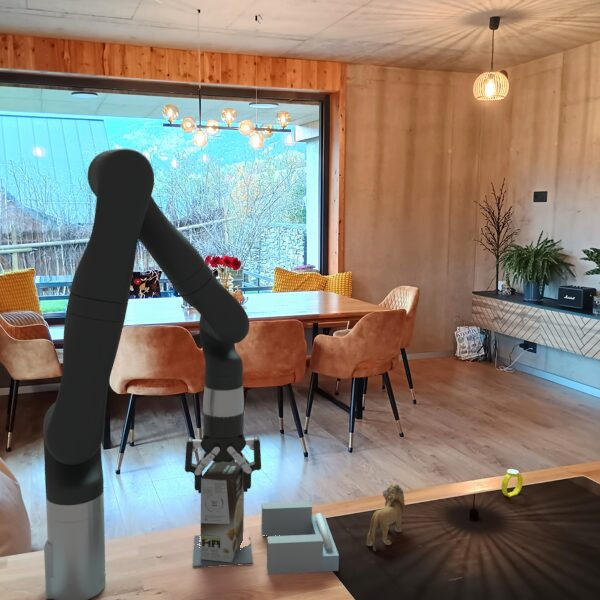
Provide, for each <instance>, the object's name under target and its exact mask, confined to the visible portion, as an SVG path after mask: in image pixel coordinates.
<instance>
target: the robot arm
mask: <svg viewBox="0 0 600 600" xmlns="http://www.w3.org/2000/svg"><path fill="white" fill-rule="evenodd" d="M87 182H88V185H89V188H90V190H91V192H92V193H93V195H94V196H95V197H96V200H95V201H96V202H95V210H94V217H93V218H94V219H93V225H92V230H91V234H90V237H89V240H88V243H87V245H86V247H85V249H84V251H83V254H82V256H81V258H80V260H79V262H78V264H77V267H76V269H75V272H74V274H73V278H72V282H71V285H70V290H69V295H68V300H67V305H66V312H65V318H64V325H63V327H64V328H63V339H62V340H63V341H62V346H63V347H62V372H61V373H62V374H61V380H60V385H59V389H58V394H57V396H56V400H55V402H54V403H53V404H52V405H51V406H49V408H48V410H47V411H46V413H45V415H44V417H43V418H44V419H43V424H42V425H43V426H42V428H43V429H42V432H43V435H42V436H43V456H44V457H43V458H44V459H43V460H44V482H45V483H44V485H45V486H44V487H45V504H46V507H45V508H46V531H47V532H46V534H47V535H46V537H47V540H46V541H45V543H44V545H43V552H44V553H43V556H44V558H43V559H44V584H45V586H44V587H45V588H44V589H45V599H46V600H49V599H50V600H89V599H92V598H94V597H96V596H98V595H99V594H100V593H102V592H103V590H104V589H105V586H106V576H107V575H106V545H105V544H106V542H105V541H106V539H105V538H106V537H105V506H104V505H105V499H104V498H105V497H104V496H105V495H104V491H105V490H104V486H105V483H104V471H103V470H104V469H103V459H102V443H103V440H104V436H105V424H106V423H105V421H106V410H107V408H106V407H107V399H108V390H109V384H110V378H111V375H112V370H113V368H114V364H115V361H116V357H117V352H118V350H119V347H120V341H121V338H122V333H123V329H124V325H125V320H126V316H127V310H128V305H129V299H130V293H131V292H130V291H131V286H132V285H131V284H132V280H133V274H134V269H135V262H136V254H137V253H136V252H137V247H138V242H140V243H141V244H142V246H143V247H144V249H146V251H147V252H148V253H149V256H151V257H152V259H153V261H155V263H156V264H157V266H158V268H160V270H161V272H163V274H164V275H165V277H166V278H167V280H168V281H169V282H170V284H171V285H172V286H173V288H174V289H175V291H176V292H177V293H178V294H179V296H180V297H181V298H182V300H184V302H185V303H186V304H187V305H189V306H191V307H192V308H193V309H194V310H196V311H197V312H198V313H199V314H200V317H199V323H198V328H199V330H198V331H199V338H200V344H201V349H202V353H203V358H204V363H205V365H204V391H203V399H202V400H203V401H202V402H203V404H202V408H203V409H202V410H203V412H202V415H203V421H202V424H203V426H202V427H203V428H202V432H203V433H202V438H201V439H196V438H195V439H194V438H193V437H191V436H188V437H187V439H186V444H185V445H186V446H185V462H184V471H185V472H186V473H192V474H193V475H194V489H195V491H198V493H197V494H201V477H202V476H203V472H204V470H205V469H206V468H207V467H209V465H210V463H212V461H213V462H215V463H219V462H223V461H224V462H232V461H233V462H237V463H238V464H239V465H240V466H241V467H242V468H243V470H244V472H243V490H244V493H247V492H248V490H249V489H251V487H252V473H253V472H254V471H260V470H261V469H262V458H261V457H262V455H261V440H260V436H258V435H254V436H253V437H250V438H249V437H247V438H245V435H244V429H245V428H244V427H245V426H244V425H245V423H244V422H245V420H244V418H245V417H244V416H245V414H244V412H245V397H244V396H245V395H244V386H243V385H244V384H243V383H244V367H243V366H244V363H243V360H242V357H241V356H240V354H238V352H237V350H236V347H235V346H236V345H235V344H238V343H240V342H242V341H243V340H245V339H246V337H247V336H248V334H249V330H250V319H249V316H248V314H247V312H246V310H245V309H244V307H243V306H242V304H240V302H239V301H238V300H237V298H235V297H234V296H233V294H231V293H230V291H228V290H227V288H226V287H224V286H223V284H222V283H221V282H220V281H219V280H218V279H217V277H216V275H215V274H214V272H213V271H212V269H211V267H210V266H209V265H208V264H207V262H206V261H205V259H204V257H203V256H202V255H201V254H200V253H199V251H198V250H197V249H196V248H195V246H194V245H193V244H192V243H191V242H190V241H189V240H188V239H187V237H185V236H184V235H183V234H182V232H180V231H179V230H178V228H176V227H175V226H174V224H173V223H172V222H171V221H170V220H169V219H168V218H167V216H166V215H165V214H164V212H163V211H162V210H161V208H160V207H159V206H158V204H157V203H156V201H155V199H154V197H153V196H152V194H153V190H154V187H155V173H154V169H153V167H152V164H151V162H150V161H149V160H148V158H147V157H146V156H145V155H144V154H143V153H142V152H140V151H139V150H136V149H132V148H128V147H127V148H114V149H108V150H104V151H102V152H100V153H98V154H97V155H95V157H94V158H93V159H92V160H91V162H90V163H89V166H88V169H87ZM246 446H248V448H249V450H251V451H253V461H251V462H250V461H249V460H248V459H247V458H246V456H245V455H244V453H243V452H242V451H243V450H244V449H245V448H246ZM199 447H200V448H201V449H202V450H203V451H204V453H203V454H202V456H201V458H200V459H199V460H198V462H197V463H193V453H194V452H196V451H197V450H198V448H199Z"/></svg>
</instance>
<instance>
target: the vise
mask: <svg viewBox="0 0 600 600" xmlns="http://www.w3.org/2000/svg"><path fill="white" fill-rule="evenodd" d="M260 526H261V531H262V532H261V536H262V535H265V536H266V535H267V536H268V537H266V541H267V542H266V570H267V575H284V574H286V575H287V574H303V573H318V572H319V573H321V572H322V573H323V572H339V567H340V566H339V565H340V564H339V563H340V562H339V561H340V560H339V559H340V555H339V551H338V549H337V547H336V544H335V541H334V538H333V536H332V533H331V530H330V528H329V524H328V521H327V519H326V516H325V514H322V513H320V512H318V513H315V514H313V506H312V503H311V501H289V502H286V501H283V502H262V503H261V524H260ZM275 535H276V536H275ZM279 535H280V536H279Z"/></svg>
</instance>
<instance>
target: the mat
mask: <svg viewBox="0 0 600 600" xmlns="http://www.w3.org/2000/svg"><path fill="white" fill-rule="evenodd" d="M199 536H201V534H200V535H198V534H197V535H194V540H193V541H194V543H193V556H192V558H193V559H192V568H193V567H197V568H209V567H208V566H217V567H220V566H219V565H237V566H239V565H238V564H243V565H242V566H246V565H245V564H253V565H254V561H253V552H252V551H253V550H252V544H251V545H250V544H249V545H248V546H245V547H243V548H240V547H239V549H238V551H237V553H236V555H235V557H234V559H233V561H232V562H222V561H212V560H202V559H200V551H201V546H199V545H197V544H199V543H201V542H199V540H200V539H199V538H200V537H199ZM194 544H195V545H194ZM200 545H201V544H200ZM199 547H200V548H199ZM240 549H241V550H240ZM204 566H206V567H204Z"/></svg>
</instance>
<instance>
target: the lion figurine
mask: <svg viewBox="0 0 600 600" xmlns="http://www.w3.org/2000/svg"><path fill="white" fill-rule="evenodd" d="M382 497H384V500H385V503H384V507H383V508H382V509H381V508H380V509H377V510H375V512H374V513H373V515H372V517H371V520H370V524H369V525H370V527H369V532H368V533H367V536H366V538H367V539H366V546H368V547H371V546H373V547H372V551H374V552H376V551H377V544H376V538H375V537H376V528H377V527H378V526H379V528H380V530H381V532H382V537H381V540H382V541H383V543H384V544H385V545H387V546H390V545H392V542H391V540H389V539H388V533H389V530H390V525H392V524H393V523H394V522H395V527H394V529H395V531H396V532H397V533H402V532H403V530H402V528H401V524H402V515H403V514H404V512H405V506H406V504H405V496H404V489H402V487H401V486H400V485H398V484H396V483H390V484H389V486H387V488H386V489H384V490H383V491H382Z"/></svg>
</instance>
